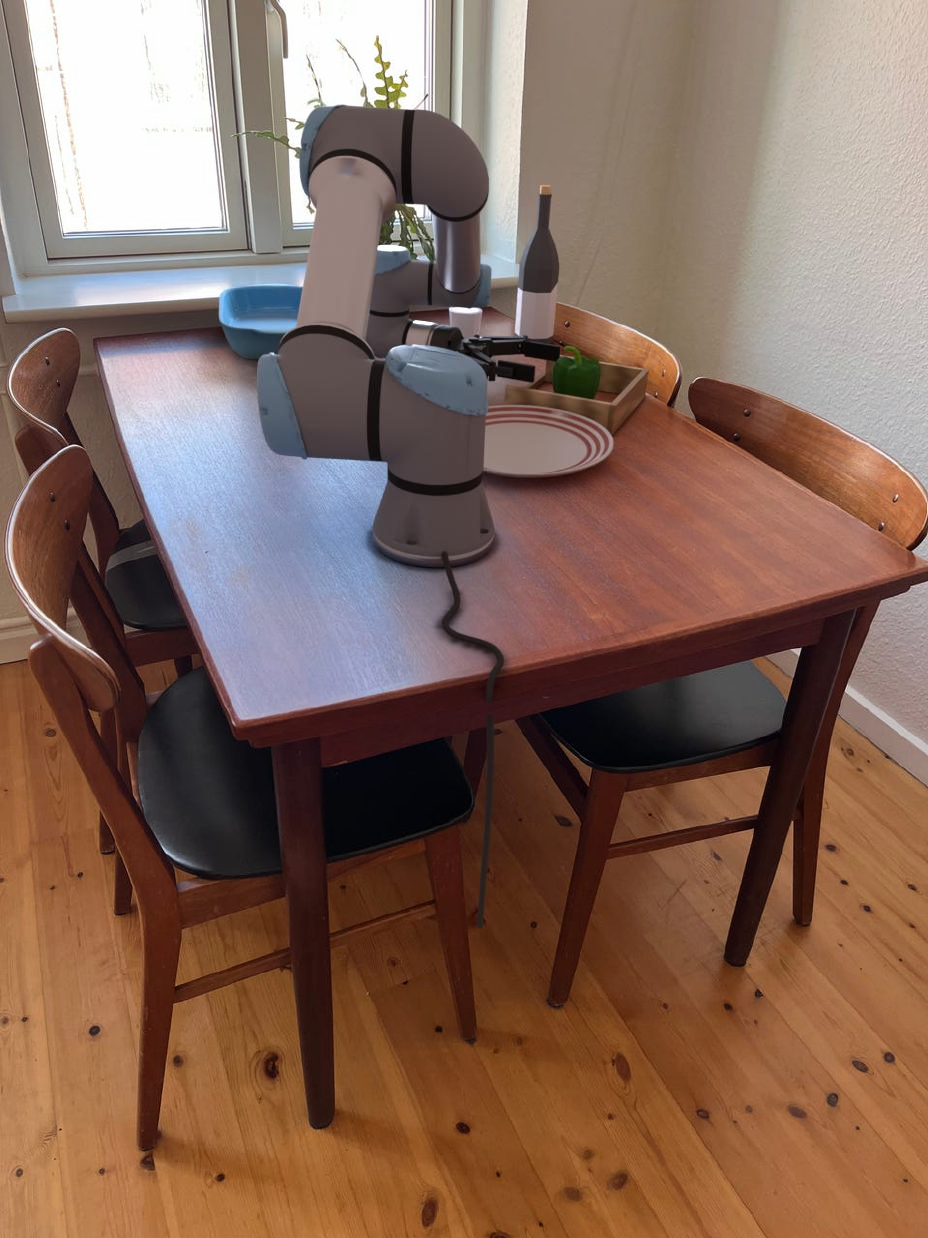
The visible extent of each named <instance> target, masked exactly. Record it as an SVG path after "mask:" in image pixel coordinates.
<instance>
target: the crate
mask: <svg viewBox="0 0 928 1238" xmlns="http://www.w3.org/2000/svg"><path fill="white" fill-rule="evenodd" d="M560 356H564V355H562V354H560ZM565 356H566V357H569V358H571V359H572V358H574V357H575V356H568V355H565ZM555 363H556V362H555V361H549V360H545V372H540V374H538V375H537V376H535V378H534V382H533V383H531V382H527V384H525V385H524V386H518V385H512V384H506V385H505V386H504V387H505V388H504V400H503V401H504V402H503V403H501V405H529V406H539V407H547V408H553V409H559V410H563V411H568V412H571V413H575V414H578V415H581V416H584V417H586V418H589V419H591V420H593V421H595V422H597V423H598V424H600V425H602V426H603V427H604V428H606V429H607V430H608V431H609V433H610V434H611V436H613V435H614V434H615V432H617V430H618V429H619V428H620V427H621V425H622V424H623V423H624V422H625V421H626V419H627V418H628V417H629V416H630V415H631V414H632V413H633V411H634V410H635V409H636V408H637V407H638V406H639V404H641V402H642V401H643V400H644V399H645V398H646V395H647V388H648V381H649V375H650V369H648V368H643V367H636V366H631V365H624V364H618V363H611V362H605V361H600V360H599V363H600V368H601V376H600V383H599V387H598V389H597V391H600V392H606V393H612V394H618V395H617V397H616V398H615V399H614V400H613V401H612V402H608V401H604V400H603V401H602V400H597V399H594V400H592V399H586V398H580V397H575V396H569V395H563V394H558V393H554V392H552V391H546V390H540V389H537V388H538V387H539V386H540V385H541V384H543V383H544V382H548V383H552V371H553V367H554V365H555Z"/></svg>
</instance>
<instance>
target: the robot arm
mask: <svg viewBox="0 0 928 1238" xmlns="http://www.w3.org/2000/svg"><path fill="white" fill-rule="evenodd" d="M300 147H301V148H300V151H299V160H298V161H299V162H298V163H299V166H298V167H299V168H298V169H299V178H300V185H301V188H302V190H303V192H304V194H305V195H306V196H307V197H308V198H309V199H310V202H311V203H312V205H313V207H314V209H315V215H314V221H313V226H312V232H311V237H310V244H309V249H308V255H307V260H306V268H305V271H304V279H303V284H302V286H303V289H302V295H301V301H300V307H299V312H298V318H297V324H296V327H295V328H293V329H291V330H290V331H288V332H287V333H286V334H285V335H284V336H283V338H282V339H281V342H280V345H279V351H278V354H274V353H271V352H270V353H269V354H264V355H262V356H261V357H260V359H258V361H257V366H256V367H257V368H256V395H257V406H258V414H259V420H260V426H261V430H262V434H263V439H264V440H265V442H266V444H267V447H268V448H269V449H270V451H272V452H273V453H274V454H276V455H279V456H285V457H295V458H301V459H302V460H307V459H309V458H312V459H325V460H326V459H327V460H343V461H362V462H380V463H386V466H387V469H386V471H387V475H386V476H387V479H386V484H385V487H384V490H383V493H382V495H381V499H380V502H379V505H378V507H377V510H376V514H375V516H374V519H373V523H372V542H373V544H374V546H375V547H376V549H377V550H378V551H379V552H380V553H382V554H383V555H385V556H386V557H388V558H389V559H392V560H394V561H397V562H399V563H403V564H407V565H411V566H415V567H423V568H444V569H445V574H446V576H447V581H448V583H449V586H450V588H451V591H452V595H453V604H452V606H451V608H450V609H449V610H448V611H447V612H446V613H445V615H444V616H443V617H442V621H441V626H442V628H443V630H444V632H445V633H446V634H447V636H449V637H451V638H453V639H455V640H458V641H461V642H464V643H467V644H472V645H475V646H478V647H481V648H483V649H486V650H488V651H490V652H491V653H493V655H494V656H495V657H496V663H495V665H494V666H493V667H492V669H491V671H490V673H489V675H488V677H487V681H486V686H485V702H486V703H488V704H491V703H492V702H493V701H494V699H493V698H494V687H495V681H496V680H497V677H498V675H499V673H500V672H501V670H502V669H503V667H504V663H505V657H504V655H503V653H502V651H501V650H500V649H499V648H498V647H497V645H495V644H493V643H492V642H489V641H487V640H484V639H482V638H477V637H474V636H470V635H467V634H464V633H461V632H459V631H456V630H454V629H452V627H450V624H449V623H450V620H451V619H452V618H453V617H454V615H455V614H456V613H457V612H458V611H459V609H460V606H461V594H460V590H459V587H458V584H457V582H456V579H455V576H454V572H453V568H452V567H457V566H462V565H467V564H469V563H473V562H475V561H477V560H479V559H481V558H483V557H484V556H486V555H487V554H488V553H490V551H491V550H492V549H493V547H494V543H495V523H494V519H493V516H492V513H491V509H490V506H489V502H488V498H487V495H486V491H485V488H484V471H483V468H484V446H485V424H486V413H488V408H489V406H490V405H489V401H488V382H496V377H497V378H503V379H508V380H514V381H520V382H526V383H529V382H531V383H533V382H534V378H536V376H535V375H536V365H534V364H527V363H521V362H515V361H510V360H504V359H498V360H497V361H496V360H494V359H492V357H495V356H497V357H498V356H517V355H523V356H524V357H525V358H532V359H538V360H543V361H546V360H549V361H555V362H556V361H557V360H558V359H559V357H560V355H561V349H562V345H557V344H552V343H551V344H545V343H539V342H533V341H528V336H527V335H524V336H515V335H485V334H480V333H479V334H475V335H474V337H470V338H469V339H464V337H463V335H462V332H461V330H460V329H459V328H458V327H455V326H450V324H449V325H448V324H438V323H437V322H430V321H423V320H416V319H411V318H410V316H409V315H410V305H412V306H429V307H430V306H431V307H432V306H433V307H445V308H447V307H448V308H451V307H460V308H468V309H471V308H480V309H484V308H487V307H488V306H489V305H490V303H491V288H492V271H493V270H492V267H491V265H489V264H487V263H482V262H481V260H482V258H481V256H482V211H483V209H484V208H485V206H486V205H487V202H488V199H489V194H490V193H489V192H490V177H489V171H488V167H487V165H486V161H485V158H484V156H483V155H482V153H481V151H480V150H479V147H478V146H477V144H476V143H475V142H474V141H473V140H472V138H471V136H469V134H468V133H466V132H465V130H464V129H462V128H461V127H460V126H459V125H458V124H456V123H455V122H454V121H453V120H451V119H449V118H448V117H446V116H444V115H442V114H440V113H438V112H435V111H432V110H429V109H417V108H416V109H407V108H406V109H405V108H393V107H392V108H391V107H379V106H377V107H376V106H361V105H347V104H344V103H339V104H335V105H320V106H317V107H315V108H313V110H312V111H311V112H310V113H309V114H308V116H307V118H306V120H305V123H304V126H303V129H302V133H301V137H300ZM396 205H421V206H426V207H427V209H428V211H429V212H430V213H431V221H432V234H433V245H434V246H433V247H434V257H435V260H424V259H423V260H422V259H421V260H420V259H412V257H411V253H410V249H408V247H405V246H401V245H394V244H380V236H381V230H382V229H381V228H382V225H383V224H384V223H386V222H387V220H389V219H390V218H391V216H392V214H393V213H394V210H395V207H396ZM379 244H380V245H379ZM376 358H377V359H376ZM380 359H384V360H380ZM485 724H486V749H487V750H486V783H485V784H486V785H485V787H486V788H485V808H484V827H483V841H482V852H481V853H482V854H481V864H480V878H479V889H478V890H479V891H478V903H477V918H476V927H477V929H483V928H484V919H485V918H484V917H485V904H486V892H487V891H486V890H487V881H488V880H487V878H488V867H489V856H490V846H491V845H490V844H491V833H492V832H491V831H492V818H493V817H492V816H493V802H494V801H493V800H494V799H493V798H494V777H495V776H494V772H495V771H494V770H495V725H494V714H493V713H491V714H487V715H485Z"/></svg>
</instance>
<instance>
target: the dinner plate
mask: <svg viewBox="0 0 928 1238" xmlns="http://www.w3.org/2000/svg"><path fill="white" fill-rule="evenodd" d="M614 445H615V444H614V438H613V435H611V434H610V433H609V431H608V430H607V429H606V428H604V427H603V426H602V425H600V424H598V423H597V422H595V421H593V420H591V419H589V418H586V417H584V416H581V415H578V414H575V413H571V412H568V411H563V410H559V409H553V408H547V407H539V406H529V405H502V404H500V405H489V408H488V413H486V424H485V446H484V468H483V473H488V474H492V475H496V476H502V477H507V478H516V479H517V478H518V479H541V478H550V477H559V476H564V475H569V474H570V475H571V474H574V473H578V472H581V471H584V470H587V469H589V468H592V467H594V466H596V465H598V464H600V463H601V462H603V461H604V460H606V459H607V458H608V457H609V456H610V455H611V454H612V451H613V449H614Z"/></svg>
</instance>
